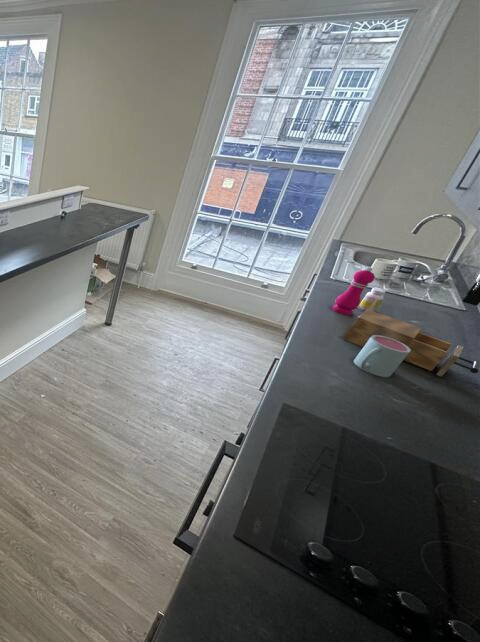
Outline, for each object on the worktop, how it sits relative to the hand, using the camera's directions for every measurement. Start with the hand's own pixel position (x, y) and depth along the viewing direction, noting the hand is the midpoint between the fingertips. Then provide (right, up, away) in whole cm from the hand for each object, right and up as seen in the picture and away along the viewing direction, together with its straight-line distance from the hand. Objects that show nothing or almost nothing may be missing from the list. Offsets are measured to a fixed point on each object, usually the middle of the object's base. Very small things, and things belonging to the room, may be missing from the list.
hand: (471, 299), depth 121 cm
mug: (-26, -22, +6) cm, 34 cm away
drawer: (-1, -21, +11) cm, 23 cm away
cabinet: (-9, -15, +20) cm, 27 cm away
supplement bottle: (+14, -2, +46) cm, 48 cm away
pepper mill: (0, -3, +43) cm, 43 cm away
